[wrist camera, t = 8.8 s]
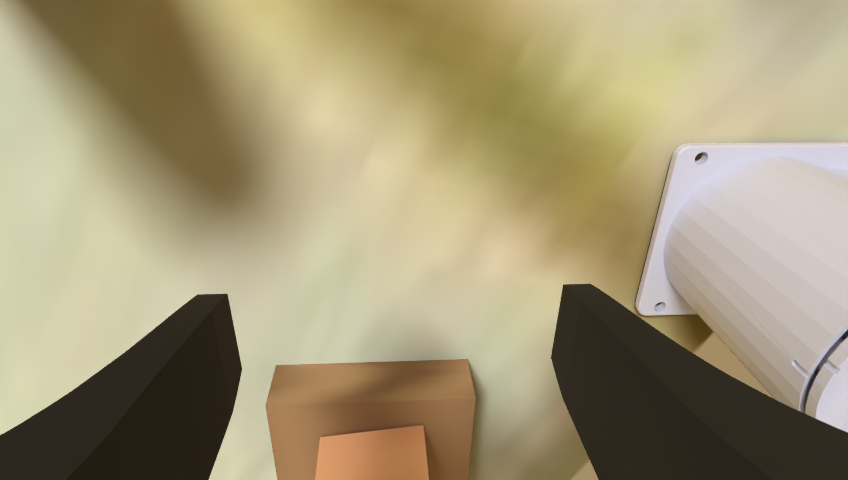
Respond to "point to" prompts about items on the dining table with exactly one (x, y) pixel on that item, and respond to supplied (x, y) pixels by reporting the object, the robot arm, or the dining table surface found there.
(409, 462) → the peach foam cube
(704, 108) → the dining table surface
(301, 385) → the block
